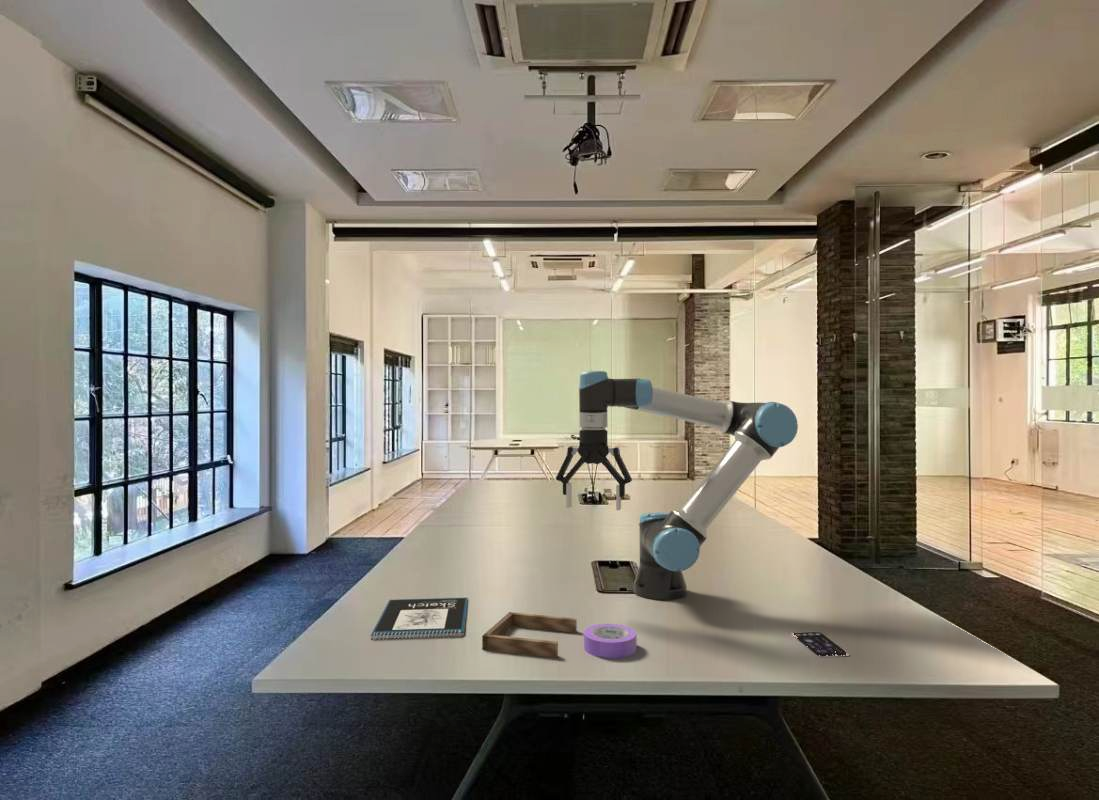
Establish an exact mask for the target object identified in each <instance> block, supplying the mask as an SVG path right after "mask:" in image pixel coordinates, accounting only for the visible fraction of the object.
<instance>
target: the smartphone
mask: <svg viewBox="0 0 1099 800" xmlns="http://www.w3.org/2000/svg"><path fill="white" fill-rule="evenodd" d="M796 632H797V631H796ZM796 632H793V633H794V635H796V636H797V637H798V638H796V637H795V638H796V640H797V641H798V642H799V641H800V642H801V643H803V644H802V645H803V646H804V647H805V646H806V647H807V646H808V647H807V648H808V649H809V650H808V649H807V648H806V647H805V648H806V649H807V650H808V651H810V652H811V653H812V652H813V653H814V654H815V655H814V654H813V653H812V654H813V655H814V656H816V655H817V656H816V657H818V656H819V655H820V657H819V658H830V657H829V656H833V655H834V656H835V654H837V655H838V656H841V655H842V656H843V655H845V656H846V652H847V651H846V650H845V649H844V648H842V647H841V646H840V645H839V644H837V643H836V642H835V641H833V640H832V639H830V638H829V637H828V636H827V635H825V634H824V633H822V632H821V631H804V632H803V631H800V632H801V633H799V632H797V633H796ZM795 638H794V639H795ZM800 642H799V643H800ZM835 651H836V653H835ZM845 651H846V652H845ZM832 654H833V655H832ZM826 655H828V657H826ZM823 656H825V657H823Z"/></svg>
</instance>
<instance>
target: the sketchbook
mask: <svg viewBox="0 0 1099 800" xmlns="http://www.w3.org/2000/svg"><path fill="white" fill-rule="evenodd" d="M468 600H469V597H442V598H441V597H440V598H439V597H437V598H435V597H434V598H407V599H406V598H403V599H389V600H388V602H387V604H386V606H385V607H384V610H383V612H381V615H380V617H379V619H378V621H377V622H376V624H375V626H374V628H373V630H372V632H371V634H370V640H373V641H377V640H378V641H381V640H382V641H384V640H388V639H389V640H390V641H391V640H392V639H391V638H394V639H393V640H396V639H397V640H399V639H401V640H403V639H404V640H407V639H409V640H411V639H413V640H414V639H419V638H420V640H421V639H422V638H423V639H424V640H425V638H427V639H429V638H434V639H437V638H438V639H440V638H442V639H444V638H446V639H447V638H448V637H447V636H450V637H449V638H450V639H451V638H452V637H453V636H454V637H453V638H454V639H455V638H462V637H465V630H464V629H465V628H466V621H465V620H467V619H466V618H467V610H468V602H467V601H468Z"/></svg>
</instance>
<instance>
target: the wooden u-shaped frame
mask: <svg viewBox="0 0 1099 800" xmlns="http://www.w3.org/2000/svg"><path fill="white" fill-rule="evenodd" d="M577 623H578V621H577V618H576V617H575V618H574V617H565V616H553V615H543V614H532V613H531V614H530V613H524V612H523V613H522V612H512V611H511V612H510V611H509V612H508V613H507V614H505V615H504V616H503V617H502V618H501V619H500V620H498V622H497V623H495V624H494V625H493V626H491V628H490V629H488V630H487V631H486V632H485V633H484V634H483V635H481V636H482V639H481V642H482V644H481V645H482V648H481V649H482V650H486V651H494V652H504V653H513V654H521V655H522V654H523V655H531V656H537V655H538V656H539V657H545V658H546V657H548V658H554V659H556V658H557V657H558V656H559V642H558V641H553V640H543V639H533V638H525V637H517V636H507V635H505V634H506V633H507V632H508V631H510V629H511V628H512V627H516V628H526V629H534V628H537V630H544V629H545V630H546V631H553V632H554V631H557V632H564V633H566V632H567V633H573V632H574V633H576V632H577V631H578V630H577V628H578V627H577V625H578V624H577ZM545 630H544V631H545Z"/></svg>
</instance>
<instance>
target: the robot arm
mask: <svg viewBox="0 0 1099 800" xmlns="http://www.w3.org/2000/svg"><path fill="white" fill-rule="evenodd" d="M652 383H653V382H651V380H650V379H648V378H641V377H640V378H610V377H609V376H608V372H606V371H605V370H603V371H602V370H587V371H583V372H581V373H580V374H579V388H578V393H579V394H578V397H579V400H578V401H579V405H578V406H579V408H578V409H579V413H578V415H579V423H578V424H579V428H581V429H579V431H578V432H579V433H578V435H579V437H578V438H579V441H578V442H579V445H578V447H575V446H573V445H572V446H568V447H567V452H566V457H565V459H564V460H563V463H562V464H561V466H560V469H559V471H558V472H557V475H556V477H555V480H556V481H559V482H561V483H562V494H563V496H565V497H566V500H565V501H566V502H565V503H566V505H565V508H566V509H569V508H571V507H573V506H572V504H573V503H572V499H573V498H572V491H573V490H572V487H573V486H572V484H573V483H572V482H570V480H572V477H574V476H575V474H576V473H577V472H578V470H579V469H580V468H581V467H582V466H583V465H584V464H587V465H590V464H595V465H600V464H602V466H604V467H605V468H606V470H607V471H608V472H609V474H610V475H611V476H612V477H613V478H614V479H615V481H616V482H617V484H616V486H615V489H616V490H615V491H616V492H615V493H616V494H615V495H616V496H615V497H616V499H615V502H616V503H615V504H616V505H615V506H616V507H615V509H616V511H620V510H621V509H622V498H624V497H625V496H626V484H629V483H631V482H632V481H633V479H632V477H631V475H630V472H629V470H628V469H627V467H626V464H625V462H624V460H623V457H622V456H621V451H620V449H621V448H620V447H619V446H615V447H612V448H609V446H608V443H609V442H608V430H607V429H606V428H608V426H609V425H608V424H609V423H608V407H612V408H614V407H618V408H626V409H630V410H636V411H638V412H639V411H640V412H644V413H649V414H654V415H658V416H663V417H667V418H671V419H676V420H680V421H685V422H688V423H692V424H699V425H702V426H708V427H712V428H716V429H718V430H719V431H720V432H721V433H722V434H723V433H724V434H727V435H731V436H734V439H735V440H734V442H733V443H732V444H731V445H730V446H729V448H728V449H727V450H726V452H725V453H724V454H723V456H722V457H721V458H720V459H719V460H718V462H717V463H716V464H715V465H714V467H713V468H712V469H710V470H711V471H710V472H709V473H708V474H707V476H705V478H704V479H703V480H702V481H701V482H700V484H699V485H698V486H697V487H696V488H695V490H694V492H693V493H692V494H691V495H690V497H689V498H688V499H687V500H686V502H685V503H684V504H683V505H682V507H681V508H678V509H672V510H671V511H670V512H647V513H646V512H645V513H642V514H640V516H639V522H638V527H639V566H638V570H637V572H636V575H635V579H634V582H633V593H634V594H635V595H637V596H640V597H642V598H647V599H652V600H676V599H680V598H683V597H686V595H687V584H686V580H685V577H684V574H683V571H686V570H689V569H690V568H691V567H693V565H695V564H696V563H697V560H698V559H699V556H700V549H701V546H702V545H703V543H705V541H706V540H707V538H708V531H707V529H708V528H709V527H710V526H711V524H712V523H713V522H714V520H715V519H716V518H717V517H718V516H719V514H720V513H721V512H722V511H723V509H724V508H725V506H727V504H728V503H729V502H730V501H731V499H732V498H733V497H734V496H735V494H736V493H737V492H738V490H739V489H740V488H741V487H742V485H744V483H745V481H746V480H747V479H748V478H749V476H750V475H751V474H752V473H753V472H754V470H755V469H756V468H757V467H758V465H759V464H760V463H761V462H762V461H765V460H771V458H772V457H773V456H774V455H775V454H776V453H777V451H778V450H779V449H780V448H783V447H785V446H788V445H789V444H791V443H792V442H793V441H794V439H795V438H796V436H797V433H798V429H799V424H798V418H797V416H796V414H795V413H794V411H793V410H792V409H791V408H790V407H789V406H788V405H785V404H783V403H779V402H776V401H768V402H738V401H732V400H726V402H721V401H718V400H717V401H716V400H714V399H713V400H712V399H708V398H705V397H704V398H703V397H700V396H695V395H690V394H686V393H681V392H676V391H672V390H667V389H662V388H658V387H655V386H653V384H652ZM577 453H578V455H579V456H580V458H579V459H578V461H577V462H576V463H575V464H574V466H573V467H572V468H571V469H570V471H568V473H566V472H567V470H568V467H569V466H570V464H571V462H572V459H573V457H574V455H576V454H577ZM609 454H611V456H612V457H614V461H615V462H616V464H617V466H618V468H619V471H620V472H621V474H622V475H621V474H620V473H619V472H618V471H617V469H616V468H615V467H614V466H613V465H612V463H611V462H610V460H609V459H608V455H609ZM565 474H566V475H565Z"/></svg>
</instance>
